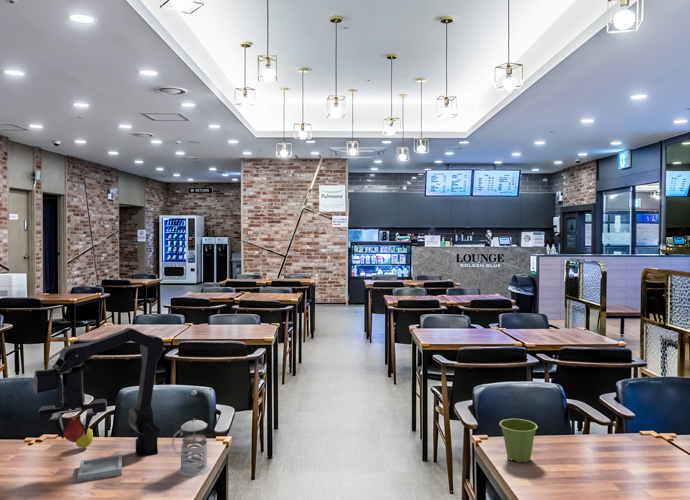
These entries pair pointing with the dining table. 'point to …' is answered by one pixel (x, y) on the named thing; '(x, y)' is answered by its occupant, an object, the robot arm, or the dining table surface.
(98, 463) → the dish
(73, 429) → the onion
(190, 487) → the dining table surface
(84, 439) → the lemon
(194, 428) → the french press
